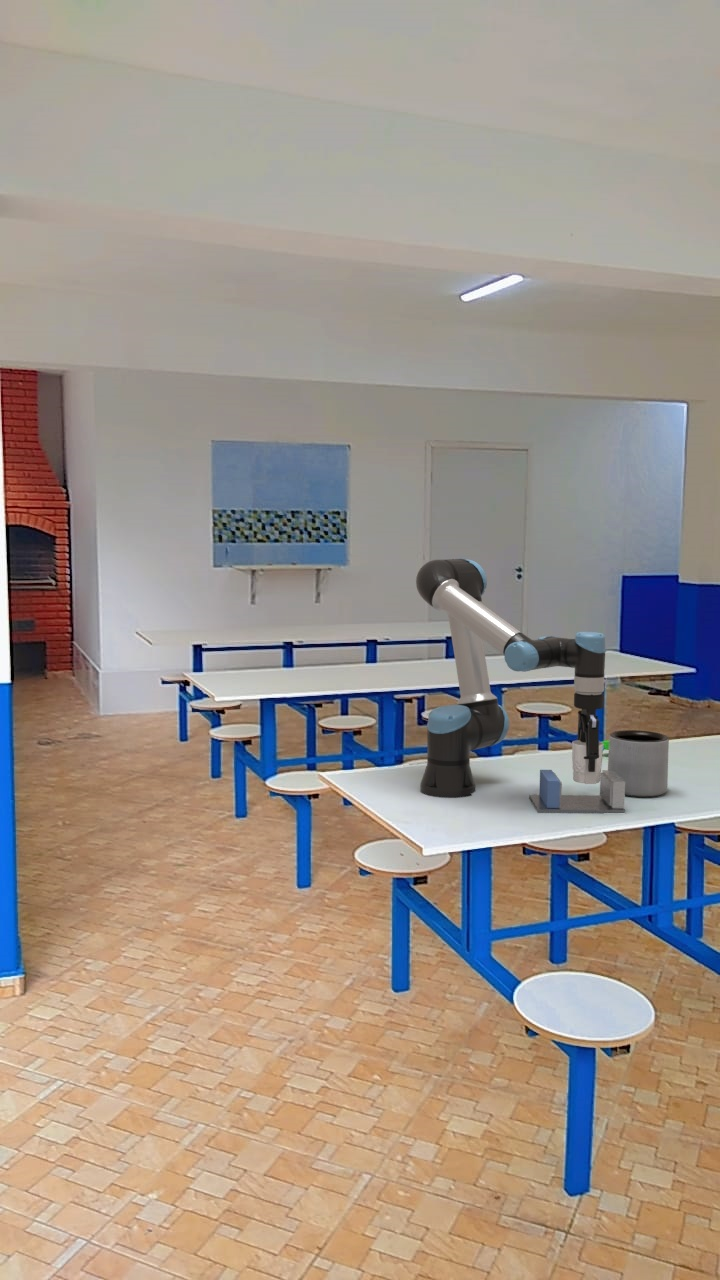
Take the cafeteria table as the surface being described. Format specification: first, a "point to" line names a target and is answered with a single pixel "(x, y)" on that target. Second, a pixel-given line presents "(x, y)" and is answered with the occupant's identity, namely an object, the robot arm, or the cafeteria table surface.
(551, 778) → the sliding jaw
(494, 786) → the cafeteria table surface
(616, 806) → the fixed jaw
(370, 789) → the cafeteria table surface
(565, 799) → the vise bed
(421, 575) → the robot arm
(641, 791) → the planter
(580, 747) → the white cup
